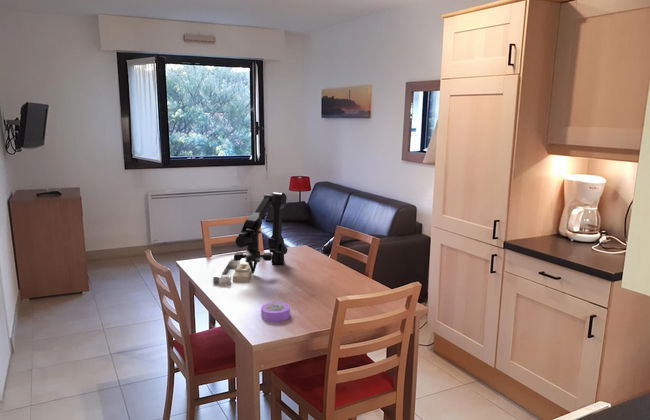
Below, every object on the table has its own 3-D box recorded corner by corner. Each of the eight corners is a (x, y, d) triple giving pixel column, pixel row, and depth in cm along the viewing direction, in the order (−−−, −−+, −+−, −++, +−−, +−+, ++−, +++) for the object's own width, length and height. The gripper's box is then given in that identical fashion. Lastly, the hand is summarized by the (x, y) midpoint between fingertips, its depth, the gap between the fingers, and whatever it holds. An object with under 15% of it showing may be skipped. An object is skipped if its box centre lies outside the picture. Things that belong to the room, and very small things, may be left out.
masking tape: (255, 317, 194) (255, 308, 194) (273, 308, 204) (273, 299, 203) (277, 324, 188) (277, 315, 187) (295, 314, 198) (295, 306, 197)
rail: (240, 265, 261) (239, 258, 260) (229, 284, 231) (229, 277, 230) (225, 265, 261) (225, 258, 260) (212, 284, 230) (212, 277, 230)
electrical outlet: (232, 274, 235) (238, 263, 252) (232, 282, 235) (238, 270, 253) (247, 274, 235) (251, 263, 252) (247, 282, 236) (252, 270, 253)
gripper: (231, 247, 235) (232, 277, 237) (269, 247, 235) (270, 278, 238) (235, 241, 245) (236, 270, 248) (271, 241, 246) (272, 271, 249)
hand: (253, 272), depth 245 cm, fingers closed
